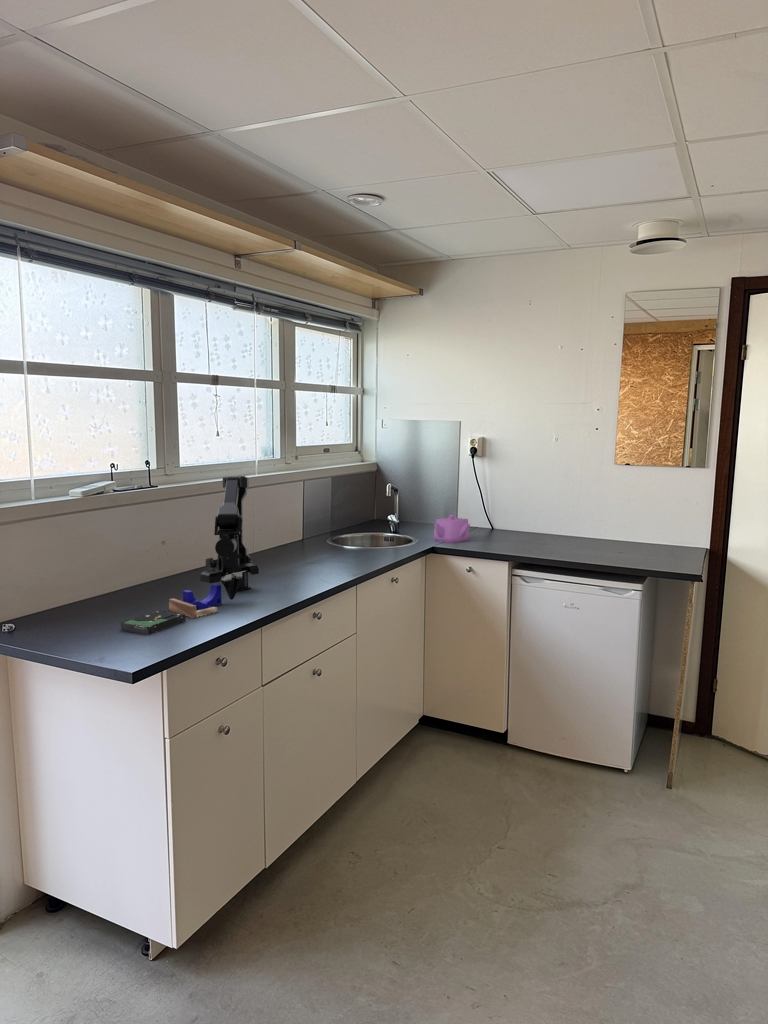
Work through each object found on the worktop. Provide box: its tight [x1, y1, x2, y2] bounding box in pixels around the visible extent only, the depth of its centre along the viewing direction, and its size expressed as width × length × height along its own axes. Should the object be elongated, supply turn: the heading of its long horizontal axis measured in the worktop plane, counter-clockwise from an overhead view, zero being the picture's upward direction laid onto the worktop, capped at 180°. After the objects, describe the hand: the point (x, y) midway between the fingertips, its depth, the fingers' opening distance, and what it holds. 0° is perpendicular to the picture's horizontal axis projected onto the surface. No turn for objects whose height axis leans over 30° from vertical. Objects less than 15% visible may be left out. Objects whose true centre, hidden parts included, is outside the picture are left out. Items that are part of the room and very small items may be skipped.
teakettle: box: [433, 514, 471, 544], centre depth 335 cm, size 17×17×12 cm
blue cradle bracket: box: [182, 583, 222, 611], centre depth 217 cm, size 12×4×6 cm, turn 140°
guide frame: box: [168, 598, 218, 619], centre depth 212 cm, size 8×13×4 cm, turn 47°
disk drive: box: [120, 609, 186, 635], centre depth 198 cm, size 10×3×15 cm
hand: (231, 599), depth 222 cm, fingers closed
